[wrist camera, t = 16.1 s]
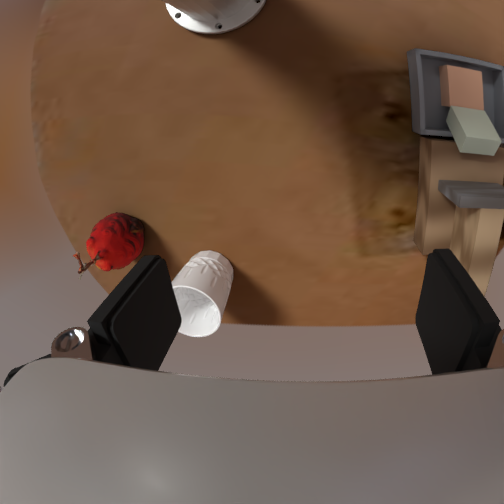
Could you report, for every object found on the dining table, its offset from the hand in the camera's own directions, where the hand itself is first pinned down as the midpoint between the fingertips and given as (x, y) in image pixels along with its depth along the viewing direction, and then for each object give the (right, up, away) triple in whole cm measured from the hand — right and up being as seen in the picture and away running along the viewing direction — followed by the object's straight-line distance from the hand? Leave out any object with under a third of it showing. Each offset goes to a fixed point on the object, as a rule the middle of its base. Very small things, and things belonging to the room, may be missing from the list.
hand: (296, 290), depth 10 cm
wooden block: (+25, +9, +23) cm, 35 cm away
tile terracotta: (+23, +20, +14) cm, 33 cm away
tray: (+23, +20, +17) cm, 35 cm away
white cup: (-7, -1, +35) cm, 36 cm away
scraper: (+25, +3, +22) cm, 33 cm away
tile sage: (+23, +14, +17) cm, 32 cm away
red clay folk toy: (-20, +5, +34) cm, 40 cm away
